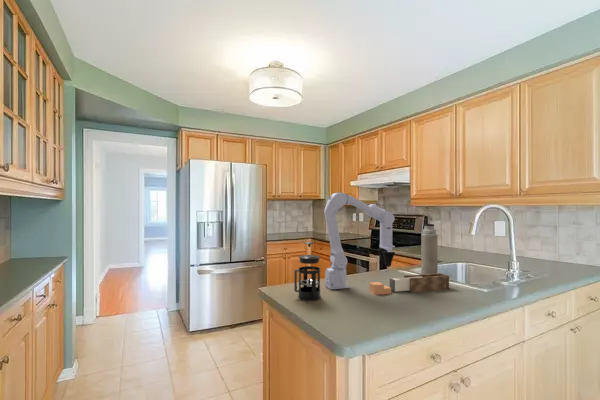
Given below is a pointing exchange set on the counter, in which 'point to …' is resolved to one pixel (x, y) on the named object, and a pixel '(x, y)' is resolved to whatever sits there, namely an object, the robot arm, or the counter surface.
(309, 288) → the french press
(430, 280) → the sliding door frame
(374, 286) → the peach two-level step
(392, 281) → the sliding door
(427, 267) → the thermos bottle
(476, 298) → the counter surface
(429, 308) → the counter surface
